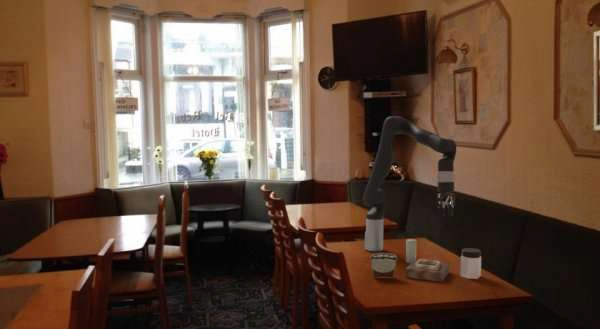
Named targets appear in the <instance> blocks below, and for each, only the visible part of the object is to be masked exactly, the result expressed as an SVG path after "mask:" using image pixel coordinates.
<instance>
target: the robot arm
mask: <svg viewBox="0 0 600 329" xmlns="http://www.w3.org/2000/svg"><path fill="white" fill-rule="evenodd" d="M402 134H403V135H405V136H406V135H407V136H410V137H411V138H413V140H415V141H416V142H417V143H419V144H421V145H423V146H425V147H428V148H430V149H432V150H433V151H435V152H436V153H439V154H442V157H441V158H440V159H439V160H438V162H437V192H440V193H436V205H435V206H436V207H437V208H438V210H439V211H438V216H439V217H443V218H444V217H445V207H446V206H447V216H448V217H453V215H454V214H453V213H454V207H456V194H455V193H452V192H455V173H454V170H455V168H454V166H455V165H454V162H455V159H456V153H457V145H456V142H455V141H454V139H452V138H445V137H440V136H438V134H436V133H434V132H433V131H429V130H427V129H424V128H421V127H420V126H418V125H416V124H414V123H412V122H411V121H410V120H408V119H407V118H404V117H403V116H400V115H399V116H397V115H396V116H395V115H394V116H388V117H387V118H386V119H385V120H384V122H383V125H382V131H381V136H380V141H379V144H378V148H377V149H378V150H377V154H376V157H375V158H374V162H373V167H372V171H371V174H370V176H369V179H368V182H367V185H366V188H365V190H364V192H363V196H362V197H363V198H362V199H363V200H362V201H363V204H364V205H365V206H366V207H370V208H371V207H372V208H371V209H370V210H369V211H368V212H366V214H365V218H366V219H365V221H366V222H365V230H366V231H365V232H364V250H365V251H370V252H382V251H383V250H384V215H385V213H386V194H385V191H384V190H383V189H381V188H379V187H380V185H381V184H382V182H383V181H384V180H385V178H387V176H388V175H389V173H390V172H391V171H392V167H393V163H394V158H395V157H394V151H393V148H392V147H393V141H394V138H395V136H396V135H402Z"/></svg>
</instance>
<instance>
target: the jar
mask: <svg viewBox="0 0 600 329" xmlns="http://www.w3.org/2000/svg"><path fill="white" fill-rule="evenodd" d="M481 255H482V251H481V250H480V249H479V248H472V247H465V248H462V249H461V256H460V277H463V278H465V279H469V280H470V279H471V280H478V279H480V277H481V276H482V256H481Z"/></svg>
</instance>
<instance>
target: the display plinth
mask: <svg viewBox="0 0 600 329" xmlns="http://www.w3.org/2000/svg"><path fill="white" fill-rule="evenodd" d="M449 270H450V264H449V263H446V262H445V263H444V262H442V261H440V260H433V259H432V260H429V259H425V258H424V259H422V258H419V259H416V260H414V261H413V262H412V263H409V265H408V266H407V267H405V277H406V278H410V279H415V280H416V279H417V280H422V281H423V280H426V281H433V282H440V283H442V282H444V280H445V279H446V277H447V276H448V274H449V272H450V271H449Z"/></svg>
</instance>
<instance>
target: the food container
mask: <svg viewBox="0 0 600 329" xmlns="http://www.w3.org/2000/svg"><path fill="white" fill-rule="evenodd" d="M369 260H371V271H372V278H376V279H377V278H378V279H380V278H381V279H383V278H385V279H389V278H390V279H394V278H395V274H396V272H395V271H396V267H397V266H396V265H397V261H398V257H397V254H394V253H391V252H390V253H389V252H375V253H372V254H370V257H369Z"/></svg>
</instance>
